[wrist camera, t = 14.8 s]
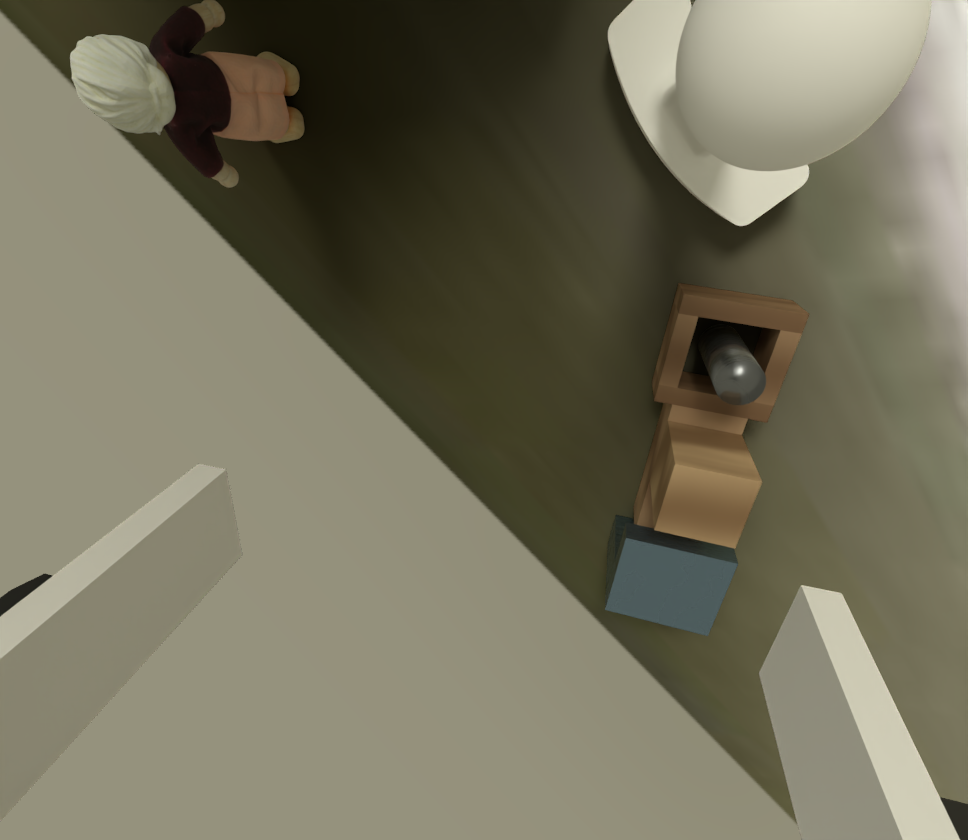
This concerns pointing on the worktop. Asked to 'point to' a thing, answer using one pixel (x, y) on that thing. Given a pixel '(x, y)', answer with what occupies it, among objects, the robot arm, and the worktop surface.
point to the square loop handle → (710, 419)
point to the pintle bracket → (675, 559)
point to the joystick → (760, 86)
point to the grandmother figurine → (188, 89)
